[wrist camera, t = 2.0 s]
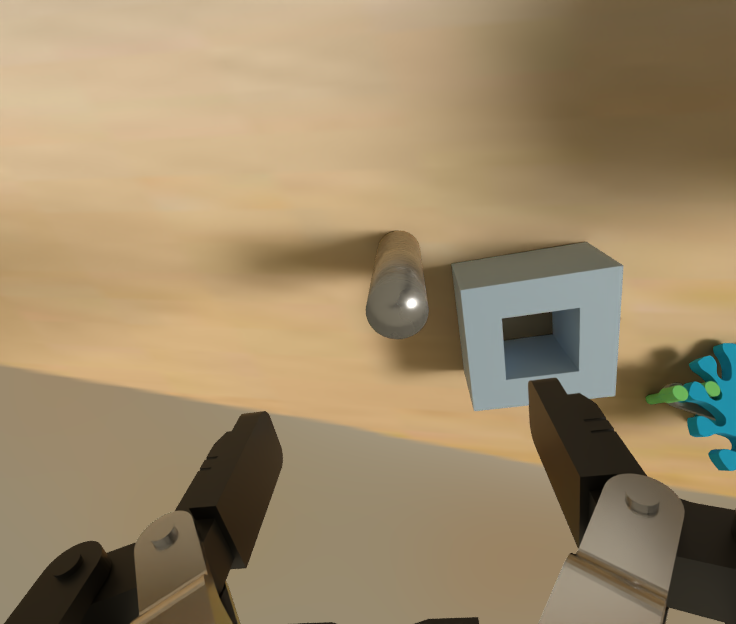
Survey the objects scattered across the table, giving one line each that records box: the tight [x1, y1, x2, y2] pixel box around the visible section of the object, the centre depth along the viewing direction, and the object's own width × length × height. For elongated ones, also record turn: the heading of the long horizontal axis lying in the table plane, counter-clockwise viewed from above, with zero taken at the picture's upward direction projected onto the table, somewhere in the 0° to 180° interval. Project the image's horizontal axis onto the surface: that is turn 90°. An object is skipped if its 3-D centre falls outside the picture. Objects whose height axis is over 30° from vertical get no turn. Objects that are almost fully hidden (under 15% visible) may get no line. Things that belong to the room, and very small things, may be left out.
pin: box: [366, 231, 429, 339], centre depth 24 cm, size 3×3×10 cm
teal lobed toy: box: [646, 343, 736, 471], centre depth 29 cm, size 11×6×10 cm
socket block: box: [451, 242, 623, 411], centre depth 27 cm, size 9×9×5 cm
